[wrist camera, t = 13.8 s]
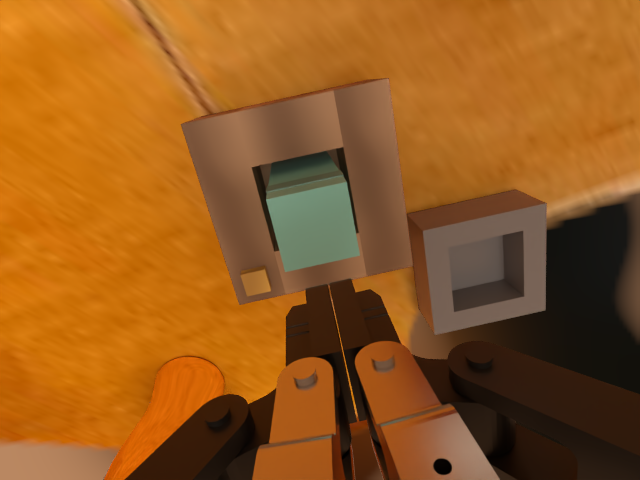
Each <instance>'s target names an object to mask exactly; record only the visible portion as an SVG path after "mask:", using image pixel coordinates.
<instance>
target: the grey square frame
mask: <svg viewBox="0 0 640 480" xmlns="http://www.w3.org/2000/svg"><path fill="white" fill-rule="evenodd" d="M546 204H547V203H545V202H542V201H540V200H538V199H536V198H533V197H531V196H529V195H527V194H525V193H522V192H520V191H518V190H512V191H508V192H503V193H499V194H494V195H490V196H485V197H481V198H476V199H472V200H467V201H463V202H458V203H454V204H449V205H445V206H440V207H436V208H431V209H427V210H422V211H418V212H413V213H409V214H407V221H408V229H409V236H410V244H411V252H412V260H413V267H414V275H415V283H416V291H417V298H418V306H419V310H420V311H421V313H422V315H423V316H424V318H425V320H426V321H427V323H428V325H429V326H430V328H431V330H432V331H433V333H434V335H436V334H441V333H445V332H450V331H455V330H459V329H464V328H468V327H472V326H477V325H481V324H486V323H490V322H495V321H499V320H504V319H508V318H512V317H517V316H521V315H526V314H530V313H535V312H539V311H544V310H545V300H546V298H545V296H546V294H545V293H546Z"/></svg>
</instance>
